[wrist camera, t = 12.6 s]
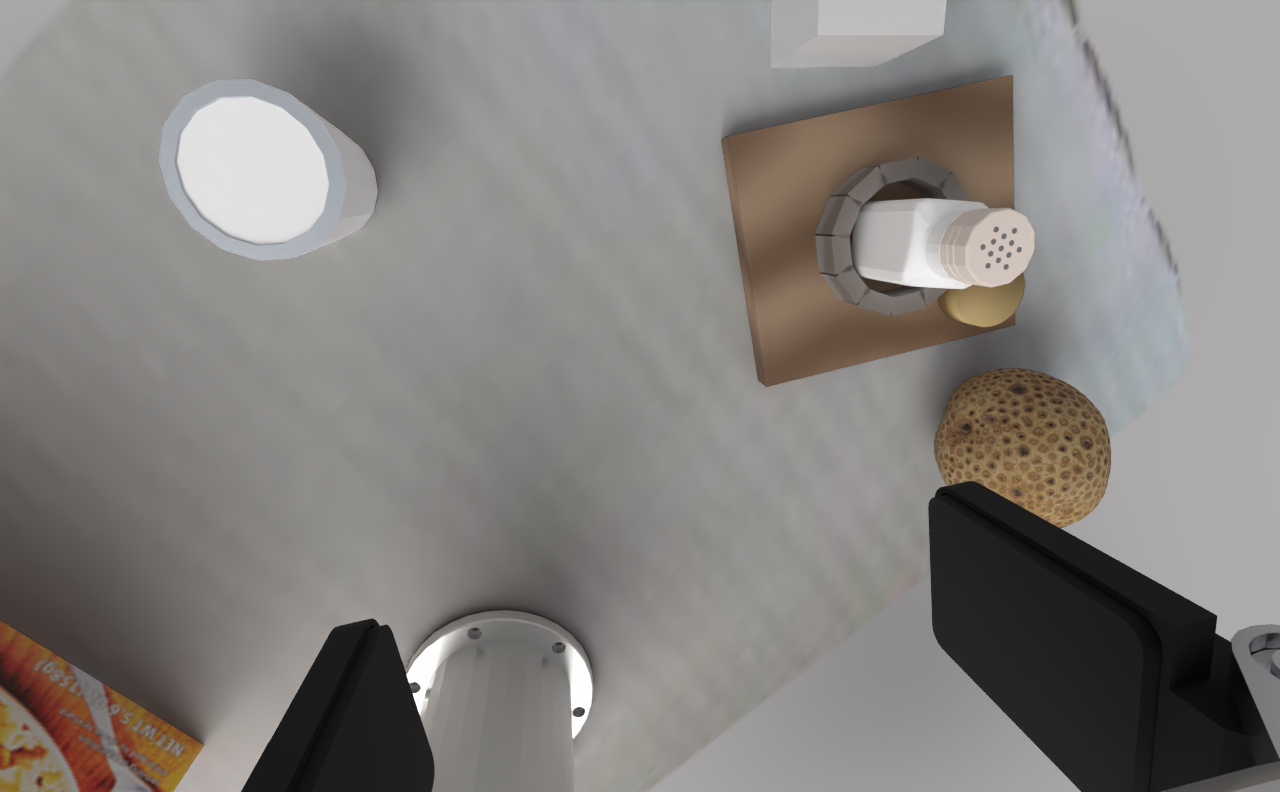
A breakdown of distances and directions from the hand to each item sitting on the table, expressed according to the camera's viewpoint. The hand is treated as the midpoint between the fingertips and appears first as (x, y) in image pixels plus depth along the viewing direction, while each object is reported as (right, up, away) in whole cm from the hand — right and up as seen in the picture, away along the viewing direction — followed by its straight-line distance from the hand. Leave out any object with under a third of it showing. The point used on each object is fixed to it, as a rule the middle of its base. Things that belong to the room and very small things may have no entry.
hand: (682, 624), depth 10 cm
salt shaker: (+13, +13, +24) cm, 30 cm away
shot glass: (-17, +15, +20) cm, 30 cm away
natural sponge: (+20, +2, +29) cm, 36 cm away
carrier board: (+13, +13, +25) cm, 31 cm away
